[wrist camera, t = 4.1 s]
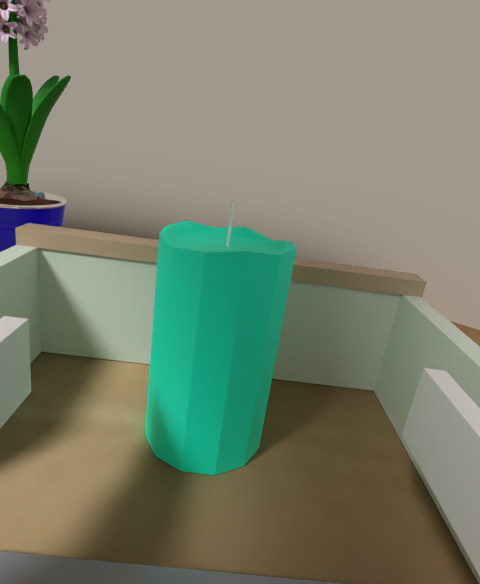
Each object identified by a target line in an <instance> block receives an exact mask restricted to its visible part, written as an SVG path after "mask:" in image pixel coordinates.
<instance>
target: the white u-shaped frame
mask: <svg viewBox="0 0 480 584" xmlns="http://www.w3.org/2000/svg"><path fill="white" fill-rule="evenodd" d="M15 233H16V245H15V246H12V247H10V248H8V249H6V250H4V251H2V252H0V319H1V318H2V317H4V316H9V317H17V318H25V319H28V320H29V345H30V364H31V362H32V361H33V360H34V359H35V358H36V357H37V356H38V355H39V354H40V353H41V352H48V353H57V354H65V355H74V356H82V357H91V358H99V359H108V360H117V361H125V362H134V363H142V364H150V357H151V343H152V329H153V315H154V301H155V287H156V273H157V259H158V245H159V240H154V239H147V238H139V237H132V236H124V235H115V234H109V233H101V232H94V231H86V230H79V229H71V228H63V227H56V226H48V225H41V224H33V223H27V224H24V225H22V226H19V227H16V228H15ZM425 285H426V281H424V280H423V279H421V278H420V277H419V276H418V275H416V274H411V273H403V272H396V271H388V270H381V269H373V268H366V267H357V266H351V265H343V264H335V263H327V262H321V261H313V260H305V259H297V258H295V259H294V264H293V270H292V275H291V280H290V286H289V291H288V296H287V302H286V307H285V312H284V318H283V323H282V328H281V334H280V339H279V344H278V350H277V355H276V360H275V366H274V371H273V376H272V379H278V380H287V381H295V382H304V383H312V384H321V385H329V386H338V387H346V388H355V389H363V390H372V391H374V392H375V394H376V396H377V398H378V400H379V401H380V403H381V405H382V407H383V409H384V411H385V413H386V414H387V416H388V418H389V420H390V422H391V424H392V425H393V427H394V429H395V431H396V433H397V435H398V436H399V438H400V440H401V442H402V444H403V446H404V447H405V449H406V451H407V453H408V455H409V457H410V459H411V460H412V462H413V464H414V466H415V468H416V470H417V471H418V473H419V475H420V477H421V479H422V481H423V482H424V484H425V486H426V488H427V490H428V492H429V493H430V495H431V497H432V499H433V501H434V503H435V505H436V506H437V508H438V510H439V512H440V514H441V516H442V517H443V519H444V521H445V523H446V525H447V527H448V528H449V530H450V532H451V534H452V536H453V538H454V539H455V541H456V543H457V545H458V547H459V549H460V551H461V552H462V554H463V556H464V558H465V560H466V562H467V563H468V565H469V567H470V569H471V571H472V573H473V574H474V576H475V578H476V580H477V582H478V584H480V576H479V574H478V573H477V571H476V569H475V567H474V565H473V563H472V562H471V560H470V558H469V556H468V554H467V553H466V551H465V549H464V547H463V545H462V543H461V542H460V540H459V538H458V536H457V534H456V532H455V531H454V529H453V527H452V525H451V523H450V522H449V520H448V518H447V516H446V514H445V512H444V511H443V509H442V507H441V505H440V503H439V502H438V500H437V498H436V496H435V494H434V492H433V491H432V489H431V487H430V485H429V483H428V482H427V480H426V478H425V476H424V474H423V472H422V471H421V469H420V467H419V465H418V463H417V462H416V460H415V458H414V456H413V454H412V452H411V451H410V449H409V447H408V445H407V443H406V441H405V440H404V438H403V436H402V433H403V430H404V427H405V424H406V421H407V417H408V414H409V411H410V408H411V405H412V402H413V399H414V396H415V393H416V390H417V387H418V384H419V381H420V378H421V375H422V372H423V369H424V368H428V369H436V370H444V371H447V373H448V374H449V375H450V376H451V377H452V378H453V379H454V380H455V382H456V383H457V384H458V385H459V386H460V387H461V388H462V389H463V390H464V392H465V393H466V394H467V395H468V396H469V397H470V398H471V399H472V401H473V402H474V403H475V404H476V405H477V406H478V407H479V408H480V346H478V345H477V344H476V343H475V342H474V341H472V340H471V339H470V338H469V337H468V336H467V335H465V334H464V333H463V332H462V331H461V330H460V329H458V328H457V327H456V326H455V325H454V324H452V323H451V322H450V321H449V320H448V319H447V318H445V317H444V316H443V315H442V314H441V313H439V312H438V311H437V310H436V309H435V308H434V307H432V306H431V305H430V304H429V303H427V302H426V301H425V300H424V299H423V298H422V295H423V291H424V288H425Z"/></svg>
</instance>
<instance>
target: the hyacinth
mask: <svg viewBox="0 0 480 584" xmlns="http://www.w3.org/2000/svg"><path fill="white" fill-rule="evenodd" d="M45 1H47V2H49V0H45ZM36 4H37V5H39V6H37V5H36ZM46 13H47V11H46V9H44V8H43V0H0V36H2V37H1V39H2V42H3V44H7V42H8V37H9V72H10V75H9V77H8V78H7V79H6V81H5V83H4V85H3V88H2V92H1V98H0V152H1V154H2V156H3V159H4V161H5V163H6V169H7V181H6V183H5V184H4V186H3V187H2V188H1V189H0V252H2V251H4V250H6V249H8V248H10V247H12V246H15V245H16V233H15V228H16V227H19V226H22V225H24V224H27V223H33V224H41V225H48V226H56V227H62V225H63V224H62V223H63V217H64V210H65V205H66V203H67V201H66V199H64V198H63V197H60V196H57V195H53V194H49V193H43V192H35V191H31V190H30V188H29V184H27V178H28V171H29V165H30V162H31V159H32V156H33V154H34V151H35V148H36V146H37V143H38V140H39V137H40V135H41V132H42V129H43V127H44V124H45V122H46V120H47V117H48V115H49V113H50V111H51V109H52V108H53V106H54V104H55V103H56V101H57V100H58V98H59V97H60V95H61V94H62V92H63V91H64V89H65V87H66V86H67V84H68V82H69V81H70V78H71V76H66V77H64V78H62V79H61V80H59V81H58V79H59V76H53V77H51V78H50V79H49V80H47V81H46V82H45V83H44V84H43V86H42V87H41V88H40V89H39V91H38V92H37V94H36V95H35V97H34V99H33V93H32V86H31V82H30V80H29V79H28V78H27V76H25V75H19V63H18V47H17V38H18V37H17V33H19V34H20V35H22V36H23V39H22V40H20V41H19V43H21V44H23V43H25V48H24V49H25V50H27V49H29V42H30V43H31V44H32V45H34V46H37V45H38V42H39V41H40V39H42V41H43V39H44V33H47V32H48V30H47V29H48V28H47V27H46V26H45V23H46V21H47V18H46ZM17 15H18V16H19V17H20V18H17ZM41 15H43V17H42V18H39V16H41ZM34 32H35V33H34ZM26 38H27V39H28V40H27V39H26ZM35 39H36V40H38V42H37V41H36V40H35ZM28 41H29V42H28Z"/></svg>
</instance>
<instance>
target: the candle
mask: <svg viewBox="0 0 480 584" xmlns="http://www.w3.org/2000/svg"><path fill="white" fill-rule="evenodd" d="M234 206H235V201H232V204H231V212H230V220H229V227H227V228H226V227H222V228H214V227H210V226H206V225H202V224H198V223H195V222H190V221H183V222H180V223H175V224H171V225H167V226H165V227H164V229H163V230H162V231H161V232H160V233H159V245H158V259H157V273H156V287H155V301H154V315H153V329H152V343H151V357H150V371H149V385H148V399H147V414H146V428H145V436H146V438H147V440H148V442H149V445H150V447H151V449H152V451H153V453H154V455H155V456H156V457H158V458H159V459H161V460H163V461H164V462H166V463H168V464H169V465H171V466H173V467H174V468H176V469H178V470H179V471H182V472H191V473H199V474H208V475H217V474H220V473H224V472H227V471H230V470H233V469H236V468H240V467H243V466H244V465H245V464H246V463H247V462H248V461H249V460H250V458H251V457H252V456H253V455H254V454H255V453H256V451H257V450H258V449H259V446H260V440H261V435H262V430H263V424H264V419H265V414H266V408H267V403H268V398H269V392H270V387H271V382H272V376H273V371H274V366H275V360H276V355H277V350H278V344H279V339H280V334H281V328H282V323H283V318H284V312H285V307H286V302H287V296H288V291H289V286H290V280H291V275H292V270H293V264H294V259H295V253H296V247H295V245H294V244H293V242H289V241H276V240H271V239H269V238H267V237H265V236H263V235H261V234H259V233H257V232H255V231H253V230H251V229H249V228H247V227H232V221H233V214H234Z"/></svg>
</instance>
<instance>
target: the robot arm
mask: <svg viewBox="0 0 480 584" xmlns="http://www.w3.org/2000/svg"><path fill="white" fill-rule="evenodd" d="M30 393H31V370H30V345H29V320H28V319H25V318H17V317H9V316H4V317H2V318H1V319H0V428H1V427H2V426H3V425H4V424H5V422H6V421H7V420H8V419H9V418H10V416H11V415H12V414H13V413H14V412H15V411H16V409H17V408H18V407H19V406H20V405H21V403H22V402H23V401H24V400H25V399H26V397H27V396H28V395H29V394H30ZM402 436H403V438H404V440H405V441H406V443H407V445H408V447H409V449H410V451H411V452H412V454H413V456H414V458H415V460H416V462H417V463H418V465H419V467H420V469H421V471H422V472H423V474H424V476H425V478H426V480H427V482H428V483H429V485H430V487H431V489H432V491H433V492H434V494H435V496H436V498H437V500H438V502H439V503H440V505H441V507H442V509H443V511H444V512H445V514H446V516H447V518H448V520H449V522H450V523H451V525H452V527H453V529H454V531H455V532H456V534H457V536H458V538H459V540H460V542H461V543H462V545H463V547H464V549H465V551H466V553H467V554H468V556H469V558H470V560H471V562H472V563H473V565H474V567H475V569H476V571H477V573H478V574H479V576H480V408H479V407H478V406H477V405H476V404H475V403H474V402H473V401H472V399H471V398H470V397H469V396H468V395H467V394H466V393H465V392H464V390H463V389H462V388H461V387H460V386H459V385H458V384H457V383H456V382H455V380H454V379H453V378H452V377H451V376H450V375H449V374H448V373H447V371H444V370H436V369H428V368H424V369H423V372H422V375H421V378H420V381H419V384H418V387H417V390H416V393H415V396H414V399H413V402H412V405H411V408H410V411H409V414H408V417H407V421H406V424H405V427H404V430H403V433H402Z"/></svg>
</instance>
